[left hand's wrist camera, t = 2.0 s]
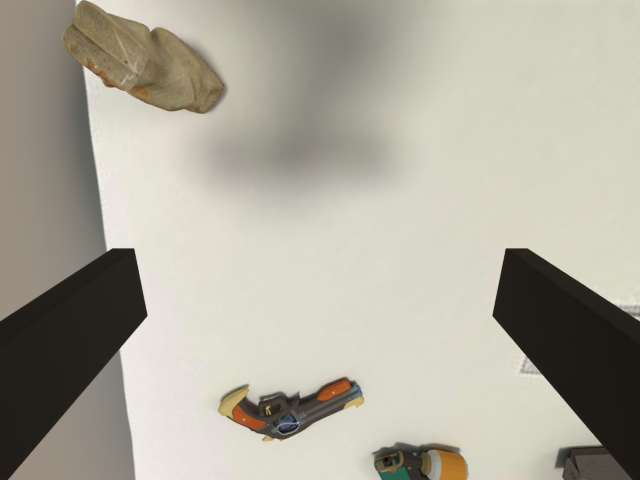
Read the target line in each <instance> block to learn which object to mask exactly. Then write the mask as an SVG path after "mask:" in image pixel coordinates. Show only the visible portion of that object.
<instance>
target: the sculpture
mask: <svg viewBox="0 0 640 480" xmlns="http://www.w3.org/2000/svg"><path fill="white" fill-rule="evenodd" d="M61 43H62V45H63V47H64V48H65V49H66V50H67V52H68V53H69V54H70V55H72V56H73V57H74V58H75V59H76V60H78V61H79V62H80V63H81V64H82V65H84V66H85V67H86V68H88V69H89V70H90V71H92V72H93V73H94V74H96V75H97V76H98V77H100V78H101V79H102V81H103V83H104V85H105V86H106V87H110V88H111V87H116V88H118V89H120V90H123V91H127V93H128V94H130V95H132V96H133V97H135V98H137V99H139V100H141V101H143V102H145V103H147V104H150V105H154V106H156V107H159V108H161V109H164V110H167V111H178V110H182V109H186V110H189V111H191V112H195V113H201V114H204V113H206V112H207V111H208V110H209V109H210V108H211V107H212V105H213V104H214V103H215V102H216V100H217V99H218V97H219V96H220V94H221V92H222V88H223V86H224V84H223V83H222V81H221V80H220V79H219V78H218V77H217V76H216V75H215V74H214V72H213V71H212V70H211V69H210V67H209V66H208V65H207V64H206V63H205V62H204V61H203V60H202V59H201V58H200V57H199V56H198V55H197V54H196V53H195V52H194V51H193V50H192V49H191V48H190V47H189V46H188V45H187V44H185V43H184V42H183V41H182V40H180V39H179V38H178V37H177V36H176V35H174V34H173V33H171V32H170V31H168V30H166V29H164V28H159V27H157V28H155V29H153V30H152V31H151V32H150V30H149V28H148V27H147V26H145V25H144V24H141V23H138V22H135V21H132V20H128V19H125V18H121V17H118V16H115V15H112V14H109V13H106V12H105V11H104V10H102V9H101V8H100V7H98V6H97V5H95V4H93V3H91V2H88V1H85V0H82V1H81V2H80V3H79V4H78V5H77V7H76V12H75V17H74V19H73V21H72V22H71V23H70V24H69V26H68V27H67V28H66V30H65V31H64V33H63V34H62V38H61Z"/></svg>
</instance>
